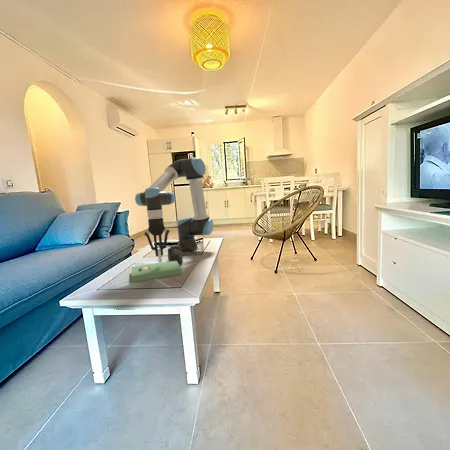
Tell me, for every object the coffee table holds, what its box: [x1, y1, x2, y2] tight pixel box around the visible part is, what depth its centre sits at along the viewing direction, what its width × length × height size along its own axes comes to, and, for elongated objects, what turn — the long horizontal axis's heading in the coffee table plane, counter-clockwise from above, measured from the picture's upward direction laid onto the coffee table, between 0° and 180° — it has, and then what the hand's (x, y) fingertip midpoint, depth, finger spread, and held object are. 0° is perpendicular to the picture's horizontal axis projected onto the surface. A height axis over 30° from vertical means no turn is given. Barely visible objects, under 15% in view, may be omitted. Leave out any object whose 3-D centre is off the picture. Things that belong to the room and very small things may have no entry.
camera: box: [167, 245, 184, 265], centre depth 148 cm, size 13×10×10 cm
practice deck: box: [131, 260, 183, 283], centre depth 128 cm, size 24×17×3 cm
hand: (160, 261), depth 130 cm, fingers closed
